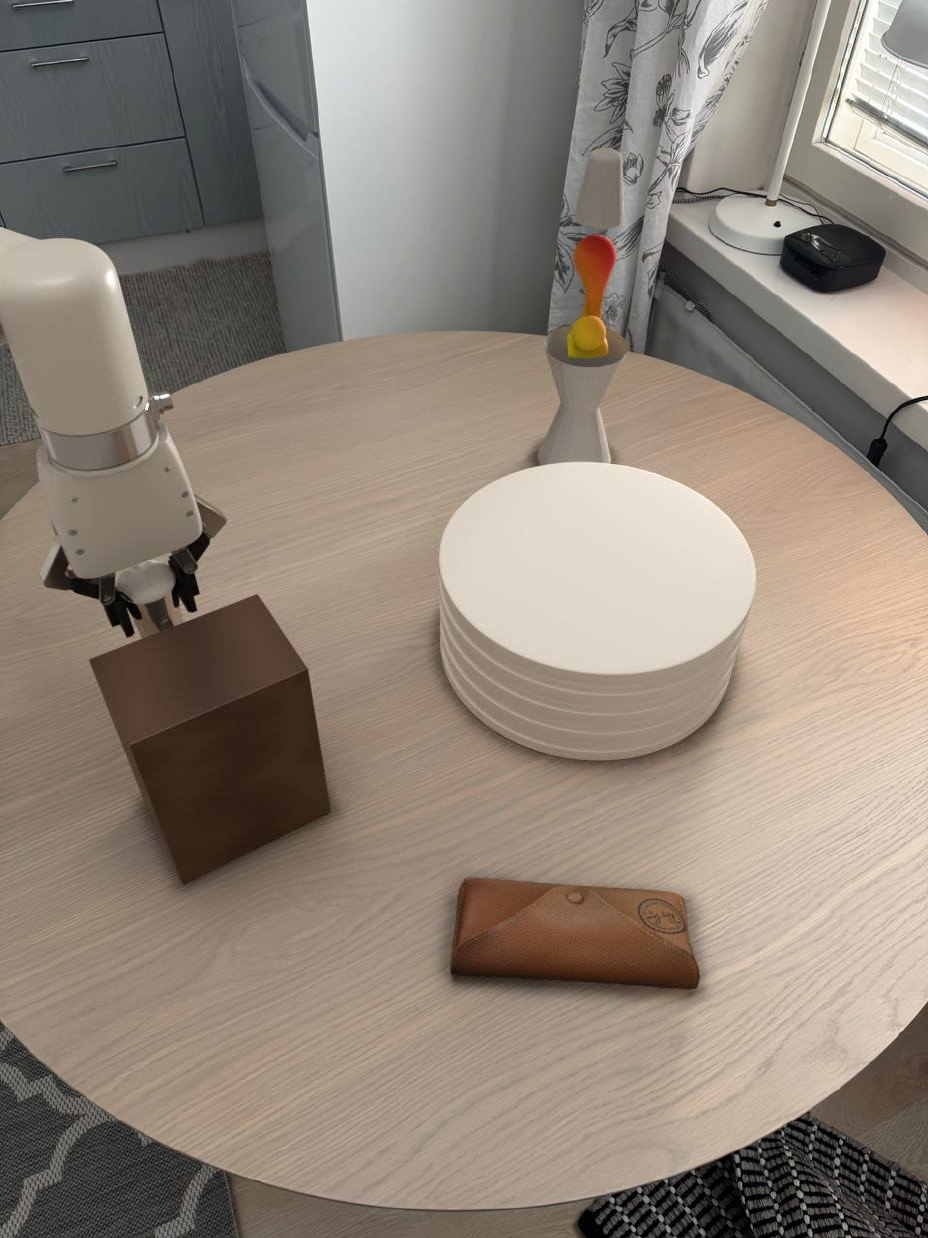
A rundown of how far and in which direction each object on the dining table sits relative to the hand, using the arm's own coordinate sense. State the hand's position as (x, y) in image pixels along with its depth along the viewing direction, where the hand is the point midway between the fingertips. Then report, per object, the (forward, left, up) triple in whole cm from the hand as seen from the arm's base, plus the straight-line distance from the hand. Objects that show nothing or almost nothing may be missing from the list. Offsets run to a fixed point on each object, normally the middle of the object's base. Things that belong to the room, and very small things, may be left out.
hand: (156, 612), depth 81 cm
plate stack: (+36, -12, -13) cm, 40 cm away
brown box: (0, -12, -13) cm, 18 cm away
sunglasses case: (+17, -36, -13) cm, 42 cm away
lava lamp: (+53, +13, -13) cm, 56 cm away
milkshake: (0, 0, -5) cm, 5 cm away
